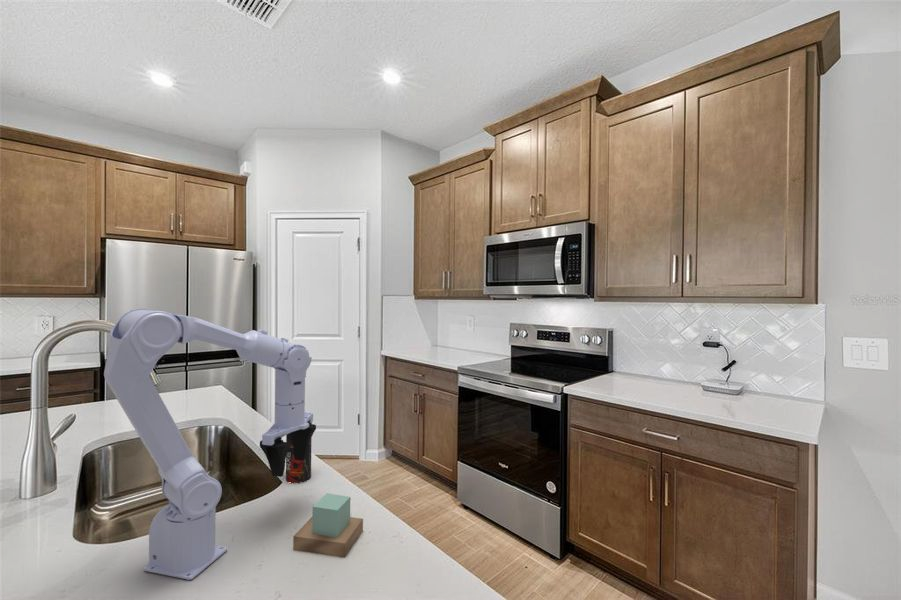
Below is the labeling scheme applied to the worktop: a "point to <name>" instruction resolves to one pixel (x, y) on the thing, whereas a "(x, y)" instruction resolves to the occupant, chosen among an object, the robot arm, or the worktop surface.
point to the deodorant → (297, 464)
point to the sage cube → (331, 515)
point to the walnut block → (328, 539)
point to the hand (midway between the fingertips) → (289, 467)
